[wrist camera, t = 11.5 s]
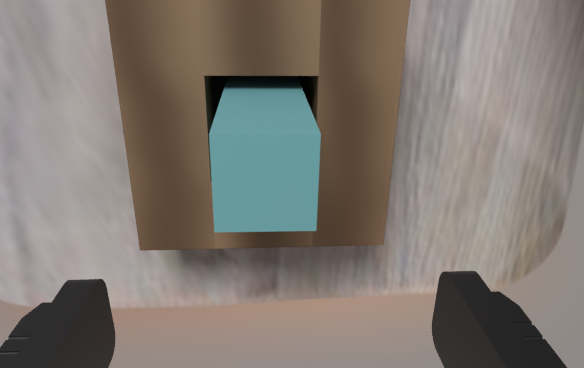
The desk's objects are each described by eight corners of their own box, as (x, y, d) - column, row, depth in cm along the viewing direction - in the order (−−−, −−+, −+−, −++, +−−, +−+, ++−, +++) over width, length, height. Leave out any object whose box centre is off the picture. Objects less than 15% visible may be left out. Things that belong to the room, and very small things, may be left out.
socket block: (384, -16, 26) (411, -16, 21) (365, 206, 31) (383, 244, 27) (131, -20, 25) (102, -21, 20) (157, 210, 30) (139, 250, 26)
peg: (296, 73, 27) (321, 134, 17) (294, 137, 29) (316, 230, 18) (229, 73, 27) (208, 134, 16) (231, 137, 29) (214, 232, 18)
